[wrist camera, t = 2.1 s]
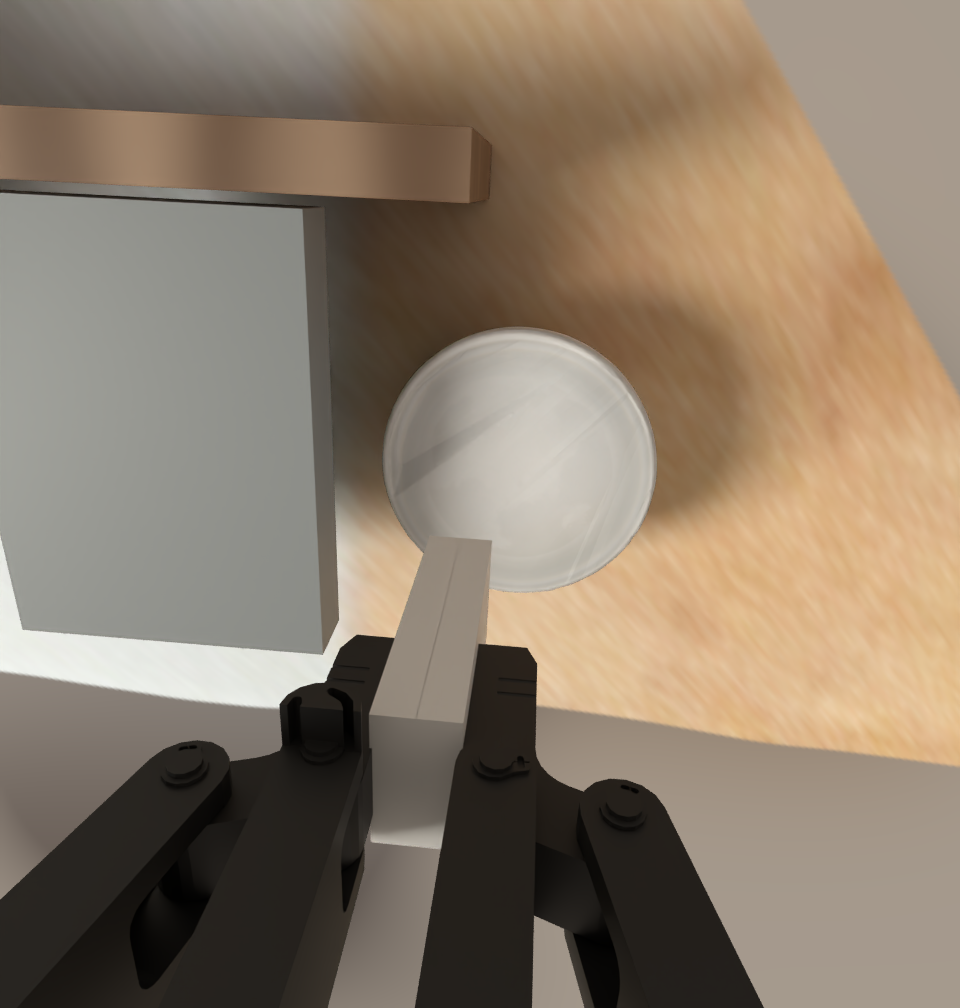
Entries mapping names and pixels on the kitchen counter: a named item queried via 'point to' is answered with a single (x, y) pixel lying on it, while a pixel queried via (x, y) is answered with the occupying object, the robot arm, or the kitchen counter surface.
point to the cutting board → (245, 154)
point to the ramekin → (522, 455)
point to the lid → (167, 420)
